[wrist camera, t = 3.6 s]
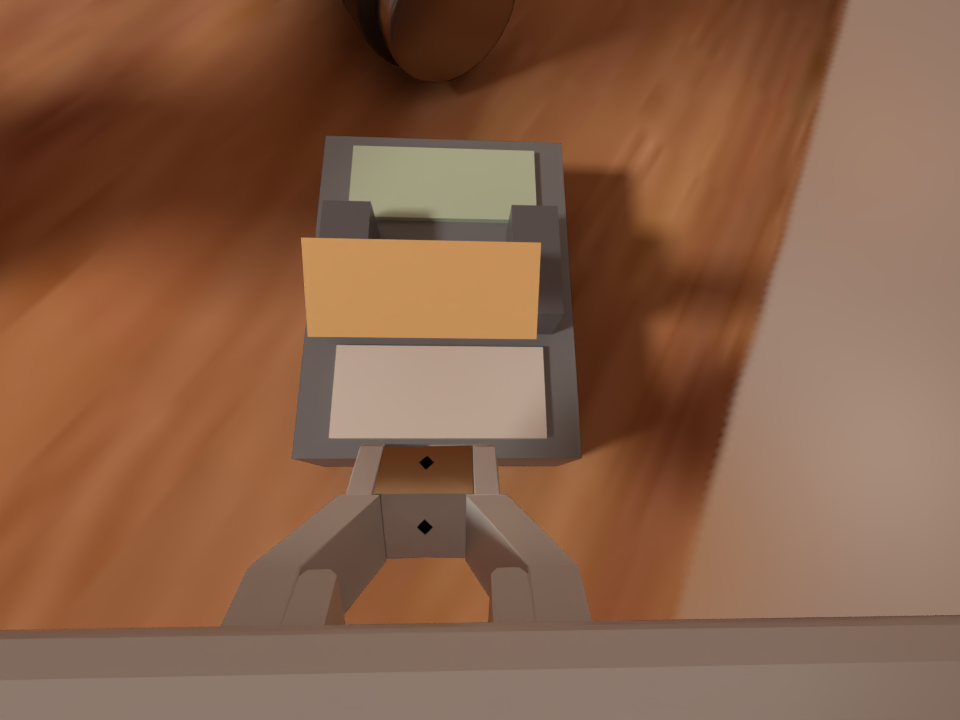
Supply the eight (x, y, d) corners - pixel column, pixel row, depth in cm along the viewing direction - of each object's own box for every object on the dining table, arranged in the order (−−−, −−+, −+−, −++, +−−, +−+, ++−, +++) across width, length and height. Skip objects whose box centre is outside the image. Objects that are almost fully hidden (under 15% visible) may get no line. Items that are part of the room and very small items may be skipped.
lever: (498, 289, 22) (545, 339, 10) (384, 287, 21) (297, 336, 10) (499, 244, 21) (550, 242, 10) (383, 242, 21) (290, 237, 9)
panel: (557, 466, 25) (599, 452, 17) (324, 466, 24) (268, 452, 17) (543, 201, 29) (572, 104, 22) (347, 196, 29) (311, 95, 21)
